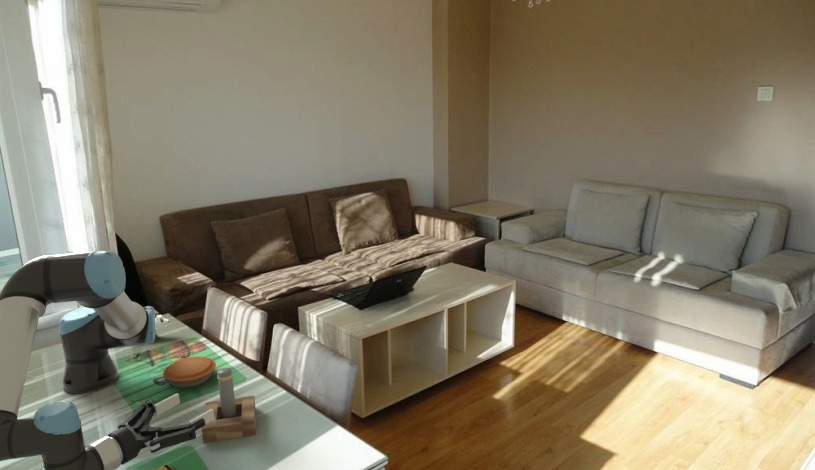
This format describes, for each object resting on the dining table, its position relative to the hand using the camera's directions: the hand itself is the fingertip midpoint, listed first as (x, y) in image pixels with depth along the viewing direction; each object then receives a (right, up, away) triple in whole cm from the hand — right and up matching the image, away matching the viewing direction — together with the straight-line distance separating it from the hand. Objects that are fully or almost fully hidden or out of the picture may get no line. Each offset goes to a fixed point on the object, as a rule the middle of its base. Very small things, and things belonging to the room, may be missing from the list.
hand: (195, 405), depth 144 cm
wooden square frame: (+6, -8, +11) cm, 15 cm away
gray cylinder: (+6, -8, +11) cm, 14 cm away
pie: (-14, -2, +36) cm, 39 cm away
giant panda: (-41, +5, +64) cm, 76 cm away
